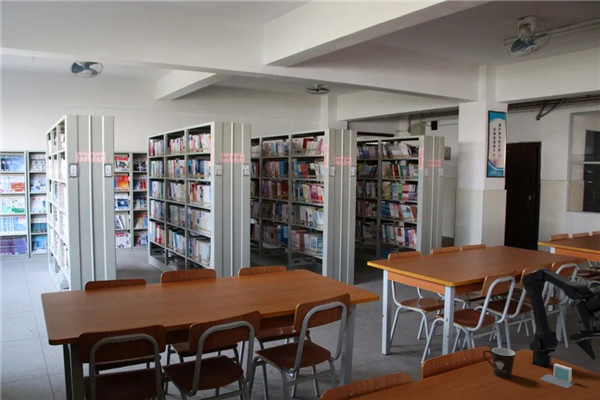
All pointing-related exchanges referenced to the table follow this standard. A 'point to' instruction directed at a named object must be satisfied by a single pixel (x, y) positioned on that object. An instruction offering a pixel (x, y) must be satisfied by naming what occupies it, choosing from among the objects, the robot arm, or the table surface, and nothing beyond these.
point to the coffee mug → (502, 361)
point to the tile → (562, 373)
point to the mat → (556, 381)
